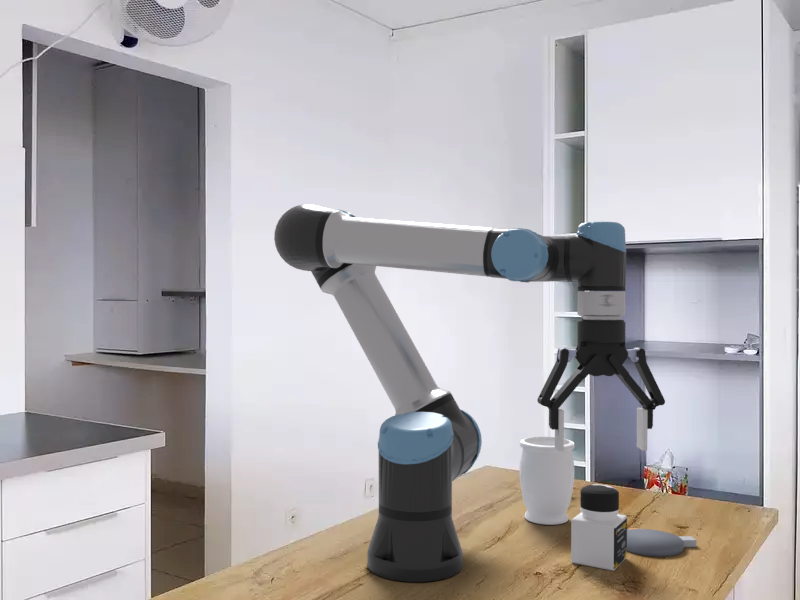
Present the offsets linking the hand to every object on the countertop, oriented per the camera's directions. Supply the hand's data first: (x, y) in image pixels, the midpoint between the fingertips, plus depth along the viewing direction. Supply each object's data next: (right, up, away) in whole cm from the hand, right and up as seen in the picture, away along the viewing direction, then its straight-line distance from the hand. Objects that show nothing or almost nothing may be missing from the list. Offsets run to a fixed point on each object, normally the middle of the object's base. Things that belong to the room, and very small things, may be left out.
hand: (600, 449), depth 125 cm
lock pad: (+10, -18, +9) cm, 23 cm away
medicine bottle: (0, -18, 0) cm, 18 cm away
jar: (-4, -18, +23) cm, 29 cm away
